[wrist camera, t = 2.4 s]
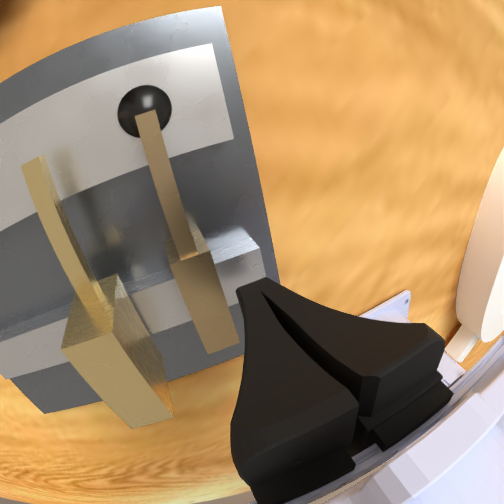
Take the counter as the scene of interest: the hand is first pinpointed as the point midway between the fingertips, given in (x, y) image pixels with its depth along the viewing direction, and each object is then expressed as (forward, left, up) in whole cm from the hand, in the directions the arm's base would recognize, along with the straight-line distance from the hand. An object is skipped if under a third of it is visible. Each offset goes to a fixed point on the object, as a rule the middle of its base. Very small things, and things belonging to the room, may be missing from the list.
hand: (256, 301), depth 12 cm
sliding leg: (+3, +6, -2) cm, 7 cm away
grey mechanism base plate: (+3, +7, -4) cm, 8 cm away
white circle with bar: (-11, -36, -5) cm, 38 cm away
